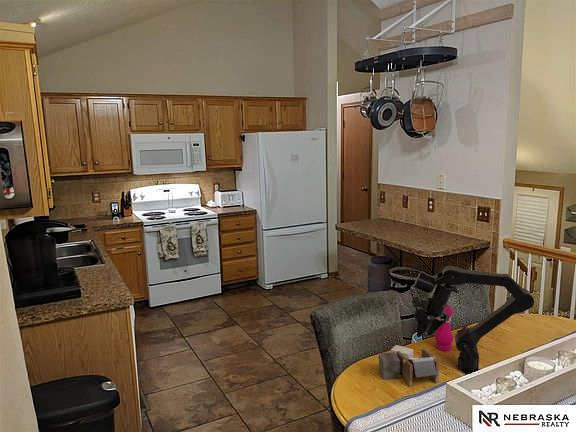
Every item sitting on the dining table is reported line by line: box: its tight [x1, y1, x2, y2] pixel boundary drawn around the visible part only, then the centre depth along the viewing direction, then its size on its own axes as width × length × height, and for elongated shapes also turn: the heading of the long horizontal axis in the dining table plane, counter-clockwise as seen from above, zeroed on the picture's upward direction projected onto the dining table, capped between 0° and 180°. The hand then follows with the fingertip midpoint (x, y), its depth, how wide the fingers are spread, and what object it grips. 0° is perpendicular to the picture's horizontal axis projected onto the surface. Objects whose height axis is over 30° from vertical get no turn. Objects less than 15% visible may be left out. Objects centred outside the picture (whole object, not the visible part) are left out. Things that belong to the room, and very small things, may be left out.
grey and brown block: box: [407, 357, 437, 378], centre depth 161 cm, size 8×12×6 cm, turn 10°
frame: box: [397, 347, 440, 388], centre depth 161 cm, size 12×11×8 cm
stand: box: [378, 351, 401, 380], centre depth 164 cm, size 6×6×7 cm
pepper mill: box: [434, 305, 454, 352], centre depth 182 cm, size 7×7×20 cm
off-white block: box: [390, 344, 414, 359], centre depth 173 cm, size 5×6×7 cm
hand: (423, 336), depth 167 cm, fingers open, 9 cm apart
